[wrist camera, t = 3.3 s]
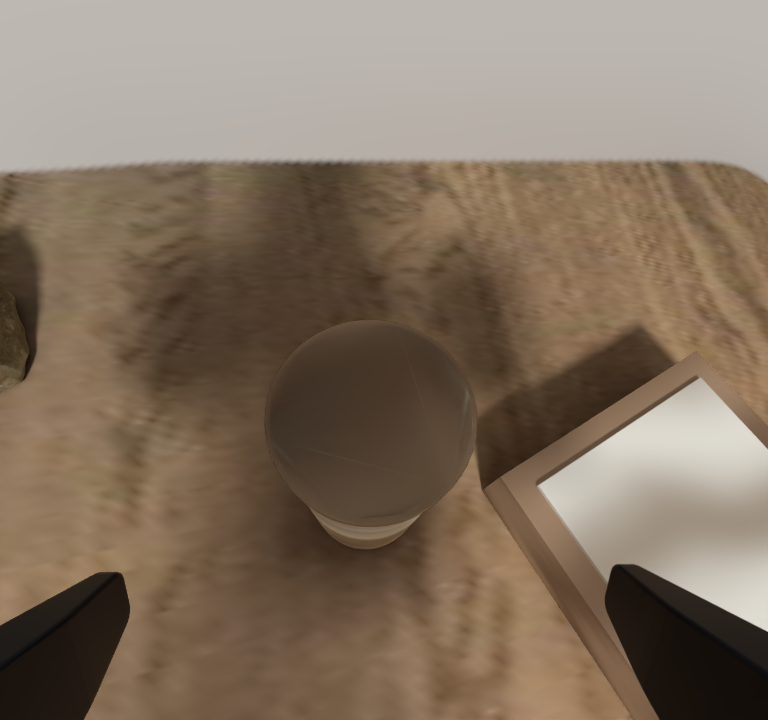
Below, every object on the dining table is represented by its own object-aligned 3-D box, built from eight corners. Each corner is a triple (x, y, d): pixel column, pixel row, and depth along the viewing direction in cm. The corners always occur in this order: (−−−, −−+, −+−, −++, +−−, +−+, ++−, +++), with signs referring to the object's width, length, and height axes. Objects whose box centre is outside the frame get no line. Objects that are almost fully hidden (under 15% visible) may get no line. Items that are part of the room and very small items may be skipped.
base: (843, 585, 20) (925, 585, 17) (658, 757, 17) (719, 793, 14) (657, 377, 24) (699, 348, 21) (481, 490, 21) (501, 475, 18)
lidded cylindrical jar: (441, 513, 20) (519, 449, 10) (344, 576, 19) (327, 571, 9) (384, 421, 22) (405, 290, 12) (292, 473, 21) (229, 375, 11)
